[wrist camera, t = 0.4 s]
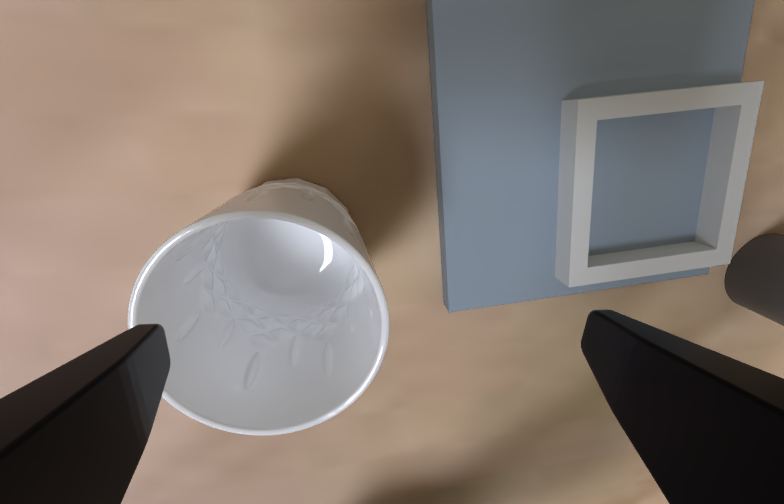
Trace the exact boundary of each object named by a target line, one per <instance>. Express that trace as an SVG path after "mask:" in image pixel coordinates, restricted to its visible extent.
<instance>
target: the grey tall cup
mask: <svg viewBox="0 0 784 504" xmlns="http://www.w3.org/2000/svg"><path fill="white" fill-rule="evenodd" d="M725 289H726V292H727V294H728V296H729V297H730V299H731V300H732V301H734V302H735V303H737V304H739V305H741V306H743V307H745V308H747V309H749V310H752V311H754V312H756V313H758V314H760V315H762V316H764V317H766V318H768V319H770V320H772V321H775V322H777V323H779V324H781V325H783V326H784V236H783V235H780V234H766V235H762V236H759V237H757V238H755V239H753V240H751V241H750V242H748V243H747V244H746V245H744V246H743V247H742V248H741V249H740V250H739V251H738V252H737V253H736V255H735V256H734V257H733V259H732V260H731V262H730V264H729V266H728V269H727V272H726V276H725Z"/></svg>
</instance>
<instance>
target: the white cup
mask: <svg viewBox="0 0 784 504" xmlns="http://www.w3.org/2000/svg"><path fill="white" fill-rule="evenodd" d="M139 324H160V325H162V326H163V328H164V331H165V335H166V340H167V345H168V349H169V354H170V370H169V374H168V377H167V380H166V383H165V387H164V390H163V393H162V397H163V398H164V399H165V400H166V401H167V402H168V403H170V404H171V405H172V406H173V407H175V408H176V409H178V410H179V411H180V412H182V413H184V414H185V415H187V416H189V417H190V418H192V419H194V420H196V421H198V422H201V423H203V424H205V425H208V426H210V427H213V428H216V429H220V430H223V431H228V432H232V433H238V434H245V435H278V434H285V433H291V432H296V431H300V430H303V429H306V428H309V427H312V426H315V425H317V424H320V423H322V422H324V421H326V420H328V419H330V418H332V417H333V416H335V415H337V414H338V413H340V412H341V411H343V410H344V409H346V408H347V407H348V406H349V405H351V404H352V403H353V402H354V401H355V400H356V399H357V398H358V397H359V396H360V395H361V394H362V393H363V392H364V391H365V390H366V388H367V387H368V386H369V385H370V383H371V382H372V380H373V379H374V377H375V375H376V374H377V372H378V370H379V368H380V366H381V364H382V361H383V358H384V356H385V352H386V349H387V344H388V338H389V312H388V306H387V301H386V298H385V294H384V291H383V289H382V286H381V284H380V281H379V279H378V276H377V274H376V271H375V269H374V266H373V264H372V261H371V258H370V256H369V253H368V251H367V249H366V246H365V243H364V241H363V238H362V236H361V234H360V232H359V230H358V228H357V226H356V224H355V223H354V221H353V220H352V218H351V217H350V215H349V212H348V209H347V208H346V207H345V206H344V205H343V204H342V203H341V202H340V201H339V200H338V199H337V198H336V197H335V196H334V195H333V194H332V193H331V192H330V191H329V190H328V189H327V188H325V187H322V186H319V185H316V184H313V183H311V182H308V181H305V180H302V179H299V178H292V179H282V180H273V181H266V182H265V183H263V184H261V185H260V186H258V187H255V188H252V189H250V190H247V191H245V192H243V193H241V194H239V195H237V196H235V197H233V198H231V199H230V200H229V201H227V202H225V203H224V204H222V205H221V206H219V207H217V208H216V209H214V210H212V211H211V212H209V213H208V214H206V215H204V216H203V217H201V218H200V219H198V220H197V221H195V222H193V223H192V224H190V225H188V226H187V227H185V228H183V229H182V230H180V231H179V232H177V233H176V234H174V235H173V236H172V237H170V238H169V239H168V240H166V241H165V242H164V243H163V244H162V245H161V246H160V247H159V248H158V249H157V250H156V251H155V252H154V253H153V254H152V256H151V257H150V258H149V259H148V261H147V262H146V264H145V265H144V267H143V268H142V270H141V272H140V273H139V275H138V277H137V280H136V282H135V284H134V287H133V290H132V293H131V297H130V301H129V308H128V329H130V328H132V327H134V326H136V325H139Z"/></svg>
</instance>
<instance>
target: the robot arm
mask: <svg viewBox="0 0 784 504" xmlns="http://www.w3.org/2000/svg"><path fill="white" fill-rule="evenodd" d="M581 348H582V352H583V354H584V356H585V358H586V360H587V362H588V364H589V366H590V368H591V370H592V372H593V374H594V376H595V378H596V380H597V382H598V384H599V386H600V388H601V390H602V392H603V394H604V396H605V398H606V400H607V402H608V404H609V406H610V408H611V410H612V412H613V413H614V415H615V417H616V418H617V420H618V422H619V423H620V425H621V427H622V428H623V430H624V431H625V433H626V435H627V436H628V438H629V439H630V441H631V443H632V444H633V446H634V447H635V449H636V451H637V452H638V454H639V455H640V457H641V459H642V460H643V462H644V464H645V465H646V467H647V468H648V470H649V472H650V473H651V475H652V476H653V478H654V480H655V481H656V483H657V484H658V486H659V488H660V489H661V491H662V492H663V494H664V496H665V497H666V499H667V500H668V502H669V504H784V379H783V378H780V377H778V376H775V375H773V374H770V373H768V372H765V371H763V370H760V369H758V368H755V367H753V366H750V365H748V364H745V363H743V362H740V361H738V360H735V359H733V358H730V357H728V356H725V355H723V354H720V353H718V352H715V351H712V350H710V349H707V348H705V347H702V346H700V345H697V344H695V343H692V342H690V341H687V340H685V339H682V338H680V337H677V336H675V335H672V334H670V333H667V332H665V331H662V330H660V329H657V328H655V327H652V326H650V325H647V324H645V323H642V322H640V321H637V320H635V319H632V318H630V317H627V316H625V315H622V314H620V313H617V312H615V311H612V310H593V311H592V312H590V314H589V315H588V318H587V321H586V325H585V329H584V332H583V336H582V339H581ZM169 370H170V354H169V349H168V345H167V340H166V335H165V331H164V328H163V326H162V325H160V324H139V325H136V326H134V327H132V328H130V329H128V330H127V331H125V332H123V333H121V334H119V335H117V336H116V337H114V338H112V339H110V340H108V341H106V342H104V343H103V344H101V345H99V346H97V347H95V348H93V349H92V350H90V351H88V352H86V353H84V354H82V355H80V356H79V357H77V358H75V359H73V360H71V361H69V362H67V363H66V364H64V365H62V366H60V367H58V368H56V369H55V370H53V371H51V372H49V373H47V374H45V375H43V376H42V377H40V378H38V379H36V380H34V381H32V382H31V383H29V384H27V385H25V386H23V387H21V388H19V389H18V390H16V391H14V392H12V393H10V394H8V395H6V396H5V397H3V398H1V399H0V504H121V502H122V499H123V497H124V495H125V493H126V490H127V488H128V486H129V483H130V481H131V479H132V477H133V474H134V472H135V470H136V467H137V465H138V463H139V460H140V458H141V456H142V454H143V451H144V449H145V446H146V444H147V441H148V438H149V435H150V432H151V429H152V426H153V423H154V419H155V416H156V413H157V410H158V406H159V403H160V400H161V396H162V393H163V390H164V387H165V383H166V380H167V377H168V374H169Z"/></svg>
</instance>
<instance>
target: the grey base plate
mask: <svg viewBox="0 0 784 504" xmlns="http://www.w3.org/2000/svg"><path fill="white" fill-rule="evenodd" d="M754 1H755V0H426V7H427V24H428V41H429V58H430V75H431V93H432V110H433V127H434V144H435V161H436V178H437V195H438V212H439V229H440V246H441V264H442V281H443V298H444V304H445V306H446V308H447V310H448V311H449V312H456V311H462V310H469V309H476V308H482V307H489V306H496V305H503V304H509V303H516V302H523V301H530V300H536V299H543V298H550V297H557V296H563V295H570V294H577V293H584V292H590V291H597V290H604V289H610V288H617V287H624V286H631V285H637V284H644V283H651V282H658V281H664V280H671V279H678V278H685V277H691V276H698V275H705V274H708V272H709V267H712V266H719V265H725V264H730V262H731V257H732V251H733V246H734V241H735V235H736V230H737V224H738V219H739V214H740V208H741V203H742V198H743V192H744V187H745V182H746V176H747V171H748V166H749V160H750V155H751V150H752V144H753V139H754V133H755V128H756V123H757V117H758V112H759V107H760V101H761V96H762V91H763V85H764V81H753V82H741V77H742V71H743V65H744V59H745V54H746V48H747V42H748V36H749V30H750V24H751V18H752V12H753V6H754Z"/></svg>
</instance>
